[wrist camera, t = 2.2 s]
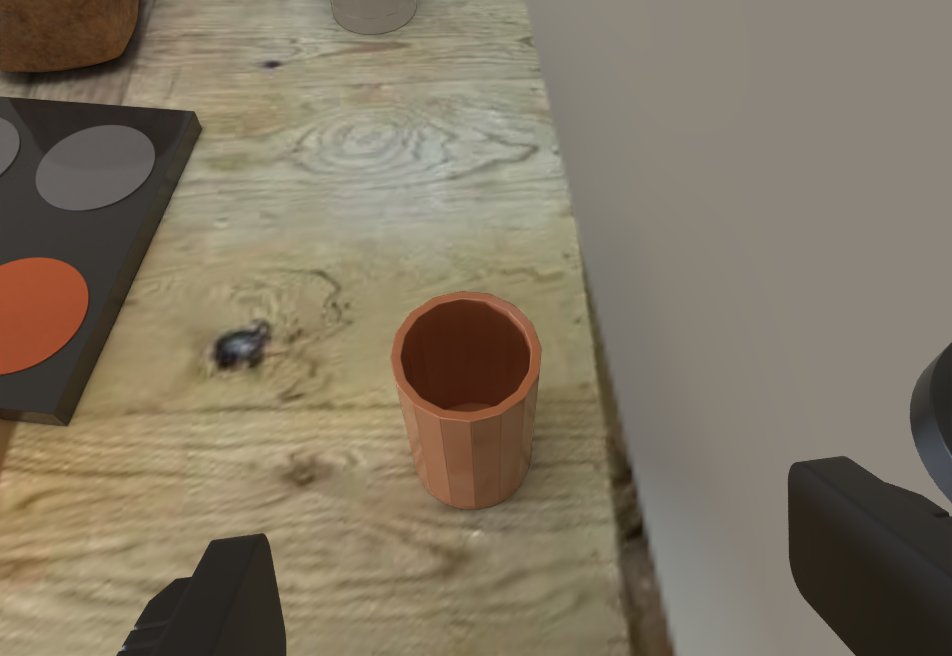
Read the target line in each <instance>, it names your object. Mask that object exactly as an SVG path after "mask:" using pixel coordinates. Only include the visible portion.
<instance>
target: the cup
mask: <svg viewBox="0 0 952 656" xmlns="http://www.w3.org/2000/svg"><path fill="white" fill-rule="evenodd" d="M331 5H332V10H333V15H334V18H335V19H336V21H337V22H338V23H339V24H340V25H341V26H342V27H344V28H345V29H347V30H350V31H352V32H356V33H361V34H381V33H386V32H390V31H393V30H395V29H397V28H400V27H401V26H403V25H404V24H406V23H407V22H408V21H409V20H410V19H411V18H412V17H413V15H414V13H415V11H416V0H331Z"/></svg>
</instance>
